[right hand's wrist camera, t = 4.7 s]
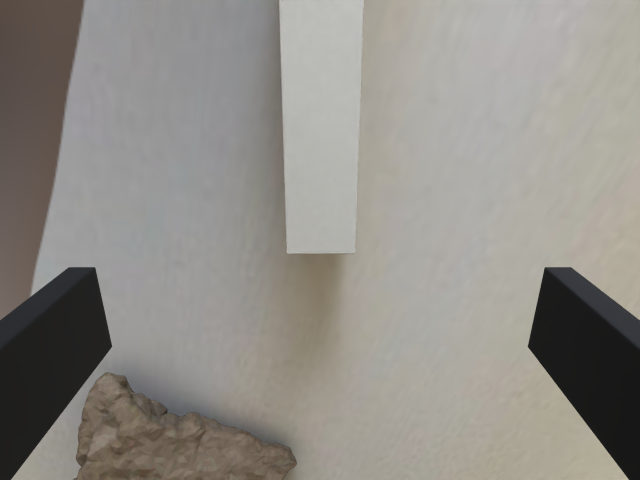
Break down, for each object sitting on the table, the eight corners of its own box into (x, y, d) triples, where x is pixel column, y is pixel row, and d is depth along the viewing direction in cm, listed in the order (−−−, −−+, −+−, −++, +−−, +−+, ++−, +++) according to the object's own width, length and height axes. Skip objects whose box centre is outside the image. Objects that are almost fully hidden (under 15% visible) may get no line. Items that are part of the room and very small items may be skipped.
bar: (348, 216, 35) (355, 254, 28) (293, 216, 35) (286, 254, 28) (356, -117, 27) (369, -190, 20) (285, -117, 27) (272, -190, 20)
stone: (37, 482, 42) (11, 538, 36) (106, 356, 40) (90, 393, 35) (230, 528, 49) (233, 580, 43) (294, 422, 48) (306, 461, 42)
